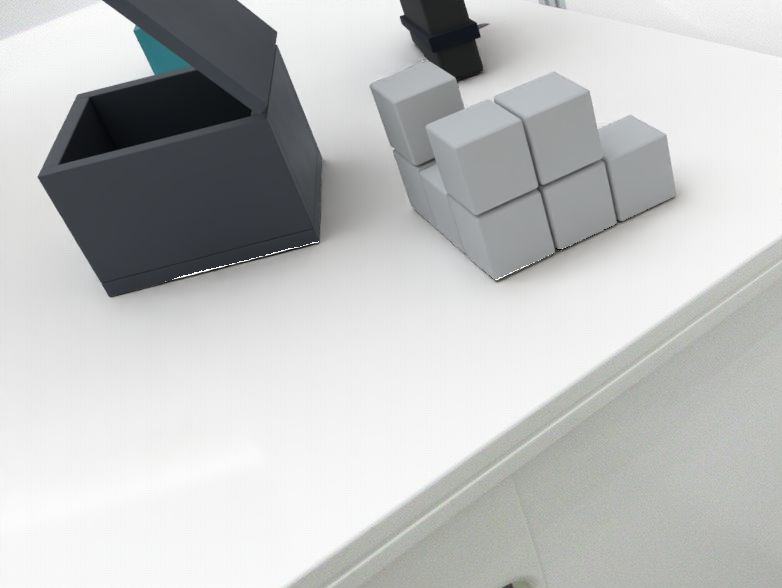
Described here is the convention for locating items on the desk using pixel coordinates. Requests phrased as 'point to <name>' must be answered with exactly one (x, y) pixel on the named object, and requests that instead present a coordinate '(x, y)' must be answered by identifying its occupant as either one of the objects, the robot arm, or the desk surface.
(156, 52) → the teal cube
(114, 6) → the compartment lid
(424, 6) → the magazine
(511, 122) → the puzzle cube
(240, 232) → the compartment
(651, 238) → the desk surface
